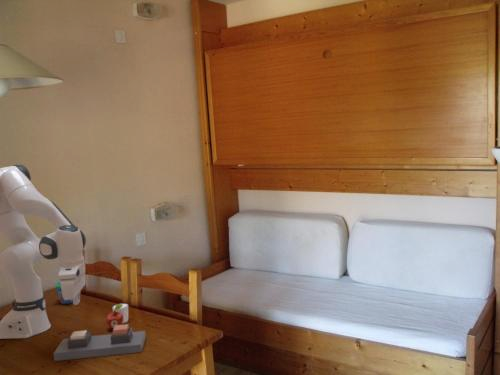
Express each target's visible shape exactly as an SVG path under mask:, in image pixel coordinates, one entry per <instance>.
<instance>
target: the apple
mask: <svg viewBox="0 0 500 375" xmlns="http://www.w3.org/2000/svg"><path fill="white" fill-rule="evenodd" d="M122 304H123V303H117V304H115V305H116V306H115V310H114V312H113V311H112V312H110V313H109V314H107V316H106V318H105V319H106V324H107V325H108V327H109V328H110V329H111V330H113V329H114V327H115V325H123V323H122V322H123V315H122V314H121V313H120V312H115V311H116V310H117V309H119V308H121V307H122V306H123V305H122Z"/></svg>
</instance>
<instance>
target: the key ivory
mask: <svg viewBox="0 0 500 375" xmlns="http://www.w3.org/2000/svg"><path fill="white" fill-rule="evenodd" d="M87 332H88V330H77V331H76V330H75V331H73V332H72V333H71V335H70V336H71V337H70V336H69V338H71V340H76V339H85V338H86V336H87Z"/></svg>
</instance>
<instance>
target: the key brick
mask: <svg viewBox="0 0 500 375" xmlns="http://www.w3.org/2000/svg"><path fill="white" fill-rule="evenodd" d="M129 328H130V327H129V323H126V324H125V323H123V324H121V325H115V327H114V329H112V332H113V335H114V336H117V335H127V334H128V332H129Z"/></svg>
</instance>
